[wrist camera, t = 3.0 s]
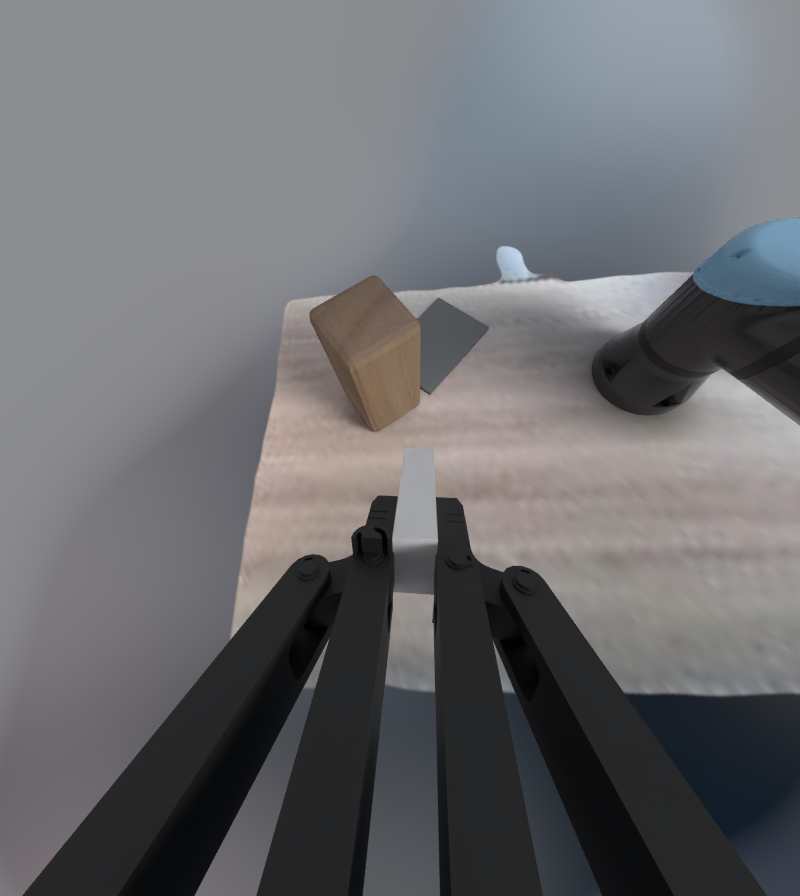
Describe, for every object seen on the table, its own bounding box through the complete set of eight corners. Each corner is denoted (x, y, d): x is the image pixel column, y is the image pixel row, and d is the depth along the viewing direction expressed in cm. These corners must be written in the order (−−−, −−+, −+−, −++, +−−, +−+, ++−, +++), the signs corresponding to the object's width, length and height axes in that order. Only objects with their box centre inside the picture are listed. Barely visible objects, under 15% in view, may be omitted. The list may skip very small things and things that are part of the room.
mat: (438, 299, 57) (438, 297, 57) (488, 328, 54) (488, 327, 54) (380, 359, 53) (379, 358, 53) (430, 394, 50) (430, 393, 50)
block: (345, 394, 52) (303, 309, 33) (390, 366, 53) (375, 268, 34) (374, 436, 49) (347, 369, 30) (422, 405, 50) (424, 322, 31)
